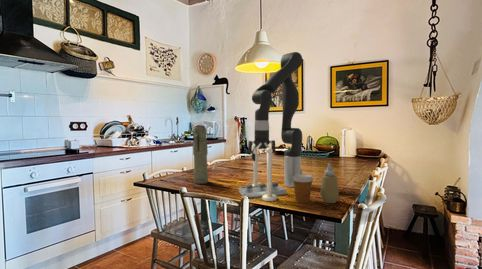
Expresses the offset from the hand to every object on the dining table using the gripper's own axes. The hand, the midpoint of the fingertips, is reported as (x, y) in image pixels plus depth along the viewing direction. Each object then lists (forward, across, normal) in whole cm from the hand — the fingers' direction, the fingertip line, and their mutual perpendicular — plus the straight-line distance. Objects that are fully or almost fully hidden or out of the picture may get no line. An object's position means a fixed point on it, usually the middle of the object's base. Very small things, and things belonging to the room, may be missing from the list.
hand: (261, 160), depth 143 cm
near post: (+17, 0, +11) cm, 20 cm away
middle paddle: (+13, 0, 0) cm, 13 cm away
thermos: (+17, +28, -34) cm, 47 cm away
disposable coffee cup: (+17, -14, +18) cm, 29 cm away
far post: (+17, 0, -11) cm, 20 cm away
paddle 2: (+13, -7, 0) cm, 15 cm away
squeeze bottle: (+17, -25, +23) cm, 38 cm away
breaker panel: (+17, 0, 0) cm, 17 cm away
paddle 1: (+13, +7, 0) cm, 15 cm away
